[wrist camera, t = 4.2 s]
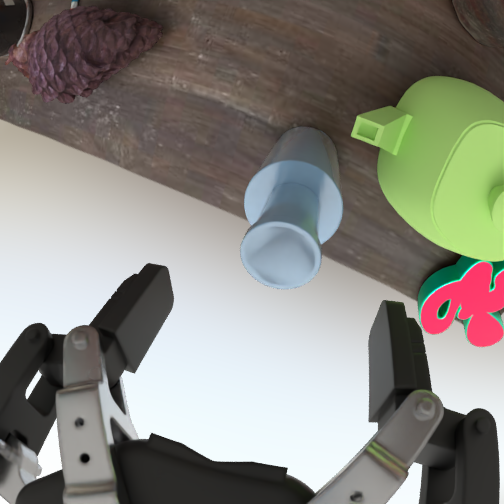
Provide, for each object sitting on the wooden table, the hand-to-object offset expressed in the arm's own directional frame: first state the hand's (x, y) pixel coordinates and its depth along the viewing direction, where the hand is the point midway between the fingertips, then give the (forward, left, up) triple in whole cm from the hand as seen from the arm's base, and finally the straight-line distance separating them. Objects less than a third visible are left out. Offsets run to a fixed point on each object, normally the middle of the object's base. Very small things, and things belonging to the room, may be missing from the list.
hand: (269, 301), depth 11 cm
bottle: (0, 0, -19) cm, 19 cm away
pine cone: (-21, +12, -19) cm, 31 cm away
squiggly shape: (+23, -9, -18) cm, 31 cm away
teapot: (+13, +3, -19) cm, 23 cm away
